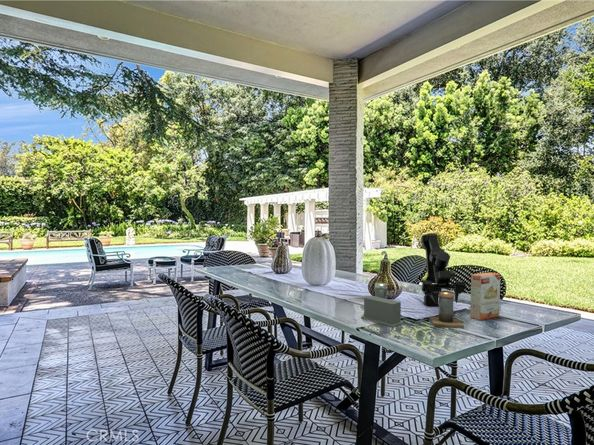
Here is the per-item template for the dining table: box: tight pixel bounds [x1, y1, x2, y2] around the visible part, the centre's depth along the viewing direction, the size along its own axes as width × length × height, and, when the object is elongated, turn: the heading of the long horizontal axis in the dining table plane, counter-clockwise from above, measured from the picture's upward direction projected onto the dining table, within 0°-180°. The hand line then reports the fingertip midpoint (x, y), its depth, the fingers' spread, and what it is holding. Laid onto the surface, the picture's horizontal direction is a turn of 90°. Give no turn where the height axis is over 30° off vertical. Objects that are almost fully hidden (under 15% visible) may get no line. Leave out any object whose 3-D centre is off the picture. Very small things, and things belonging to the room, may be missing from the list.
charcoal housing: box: [360, 295, 405, 328], centre depth 172 cm, size 8×18×10 cm, turn 41°
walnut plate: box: [428, 316, 465, 329], centre depth 168 cm, size 12×12×1 cm
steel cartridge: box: [374, 282, 388, 299], centre depth 193 cm, size 6×6×13 cm
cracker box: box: [469, 272, 501, 321], centre depth 177 cm, size 14×6×21 cm, turn 117°
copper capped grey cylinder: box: [438, 290, 455, 323], centre depth 168 cm, size 6×6×13 cm
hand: (445, 302), depth 168 cm, fingers open, 9 cm apart
